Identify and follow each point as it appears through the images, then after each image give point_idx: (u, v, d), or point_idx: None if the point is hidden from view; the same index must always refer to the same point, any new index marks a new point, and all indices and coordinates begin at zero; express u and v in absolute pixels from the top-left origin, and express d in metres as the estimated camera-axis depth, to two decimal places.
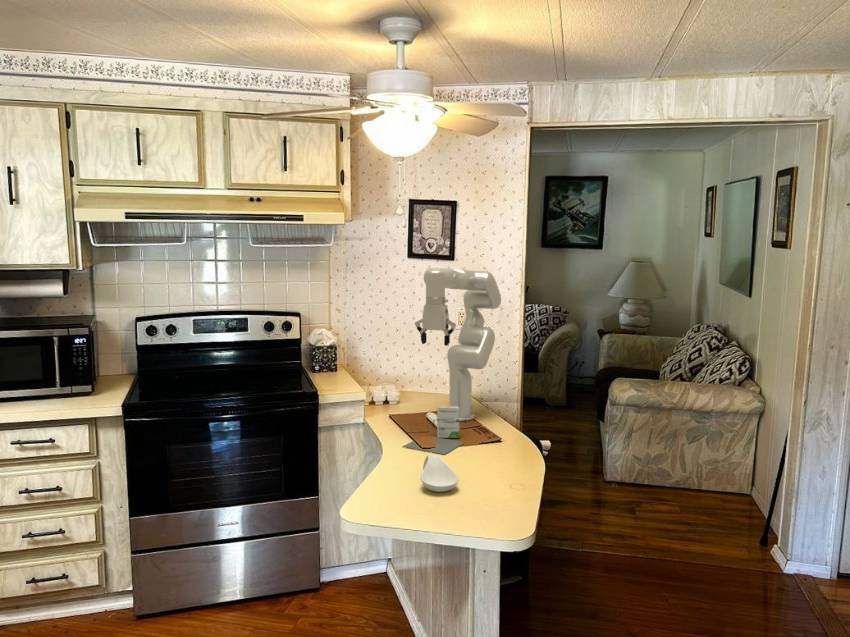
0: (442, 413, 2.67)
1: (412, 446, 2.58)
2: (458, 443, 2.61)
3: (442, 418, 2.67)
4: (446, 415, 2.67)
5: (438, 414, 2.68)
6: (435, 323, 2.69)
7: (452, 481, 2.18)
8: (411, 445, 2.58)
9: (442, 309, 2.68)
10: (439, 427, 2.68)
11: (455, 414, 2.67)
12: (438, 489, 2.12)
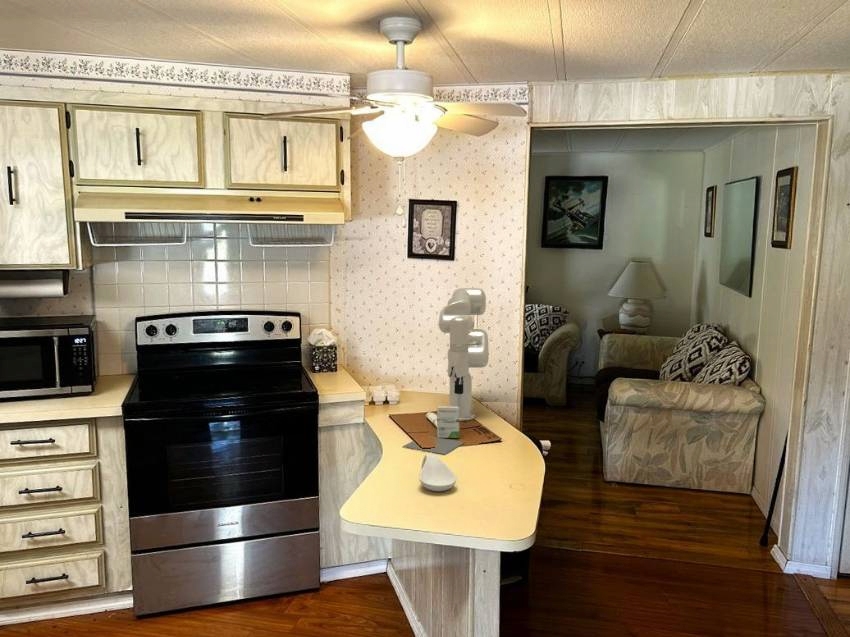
0: (442, 413, 2.67)
1: (412, 446, 2.58)
2: (458, 443, 2.61)
3: (442, 418, 2.67)
4: (446, 414, 2.67)
5: (438, 414, 2.68)
6: (465, 369, 2.74)
7: (450, 480, 2.18)
8: (411, 445, 2.58)
9: (467, 354, 2.76)
10: (439, 427, 2.68)
11: (455, 414, 2.67)
12: (436, 488, 2.12)
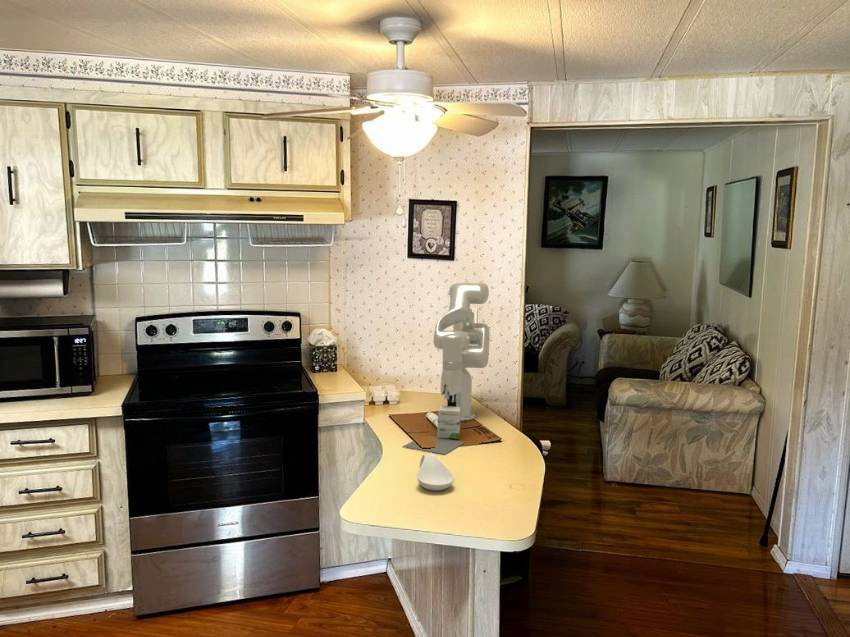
0: (443, 415, 2.65)
1: (412, 446, 2.58)
2: (458, 443, 2.61)
3: (443, 420, 2.65)
4: (447, 417, 2.65)
5: (439, 416, 2.65)
6: (458, 386, 2.70)
7: (448, 480, 2.19)
8: (411, 445, 2.58)
9: (461, 371, 2.71)
10: (440, 428, 2.67)
11: (456, 417, 2.64)
12: (434, 488, 2.13)
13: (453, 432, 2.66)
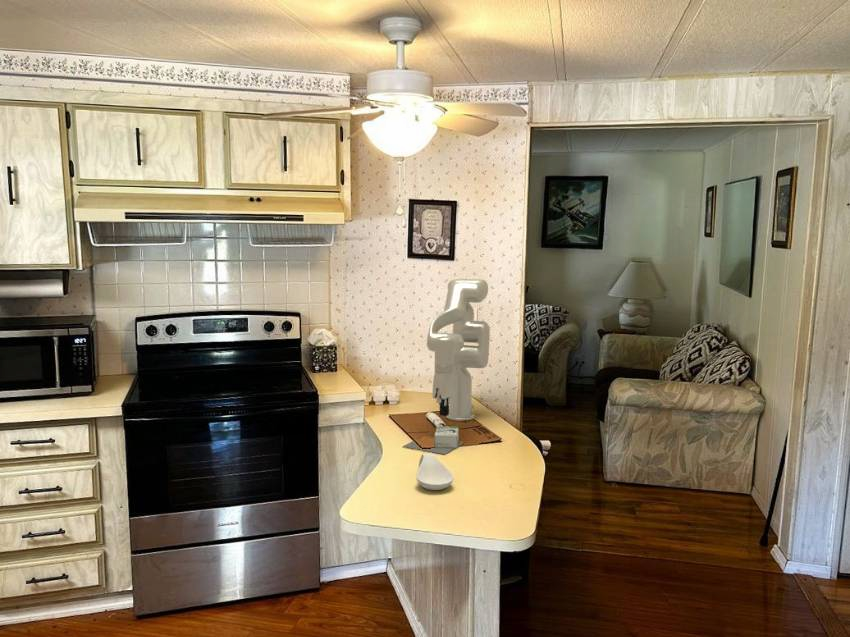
0: None
1: (412, 446, 2.58)
2: (458, 443, 2.61)
3: None
4: None
5: None
6: (450, 390, 2.64)
7: (447, 479, 2.19)
8: (411, 445, 2.58)
9: (453, 374, 2.66)
10: None
11: None
12: (433, 487, 2.13)
13: None
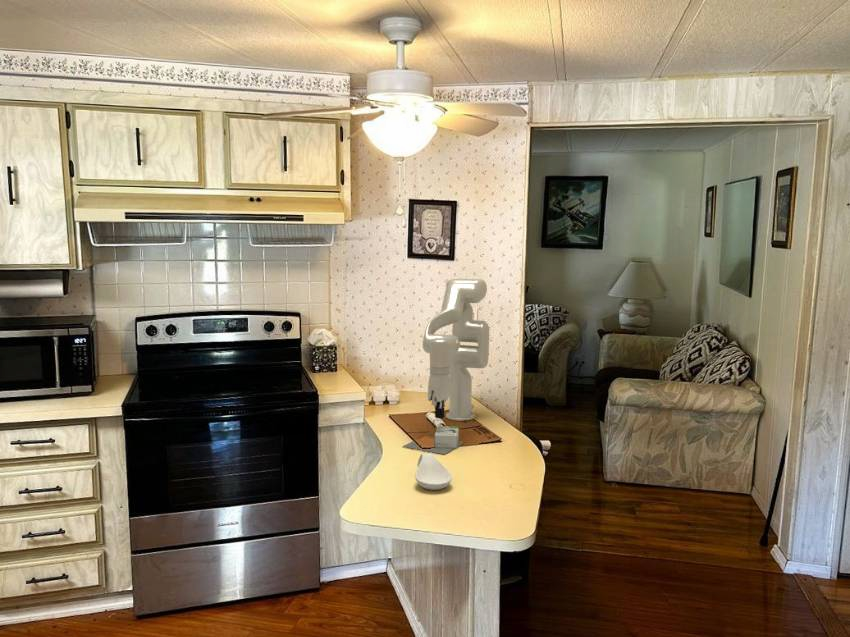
0: None
1: (412, 446, 2.58)
2: (458, 443, 2.61)
3: None
4: None
5: None
6: (446, 392, 2.61)
7: (446, 479, 2.20)
8: (411, 445, 2.58)
9: None
10: None
11: None
12: (432, 487, 2.13)
13: None
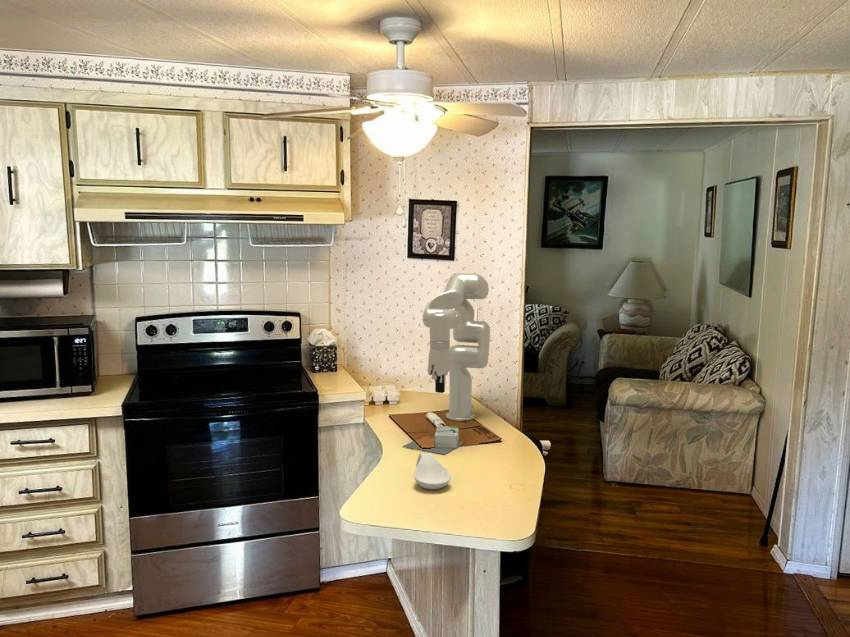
0: None
1: (412, 446, 2.58)
2: (458, 443, 2.61)
3: None
4: None
5: None
6: (446, 366, 2.60)
7: (445, 479, 2.20)
8: (411, 445, 2.58)
9: (449, 350, 2.62)
10: None
11: None
12: (431, 486, 2.14)
13: None
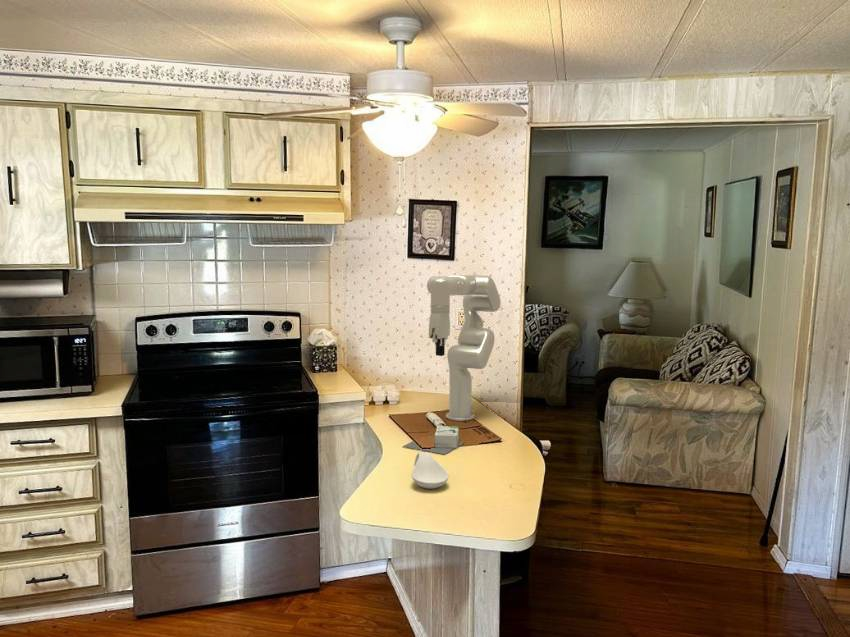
0: None
1: (412, 446, 2.58)
2: (458, 443, 2.61)
3: None
4: None
5: None
6: (446, 330, 2.73)
7: (442, 478, 2.21)
8: (411, 445, 2.58)
9: None
10: None
11: None
12: (428, 486, 2.14)
13: None
